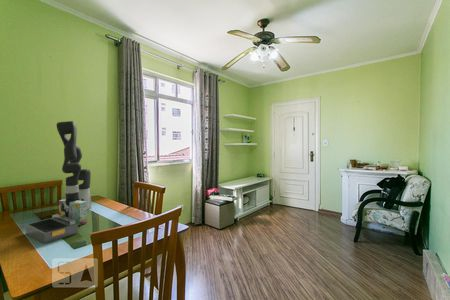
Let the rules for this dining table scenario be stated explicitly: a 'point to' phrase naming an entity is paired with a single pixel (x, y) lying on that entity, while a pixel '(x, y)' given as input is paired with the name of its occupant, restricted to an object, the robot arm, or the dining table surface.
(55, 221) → the drawer
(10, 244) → the dining table surface
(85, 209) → the snack box
